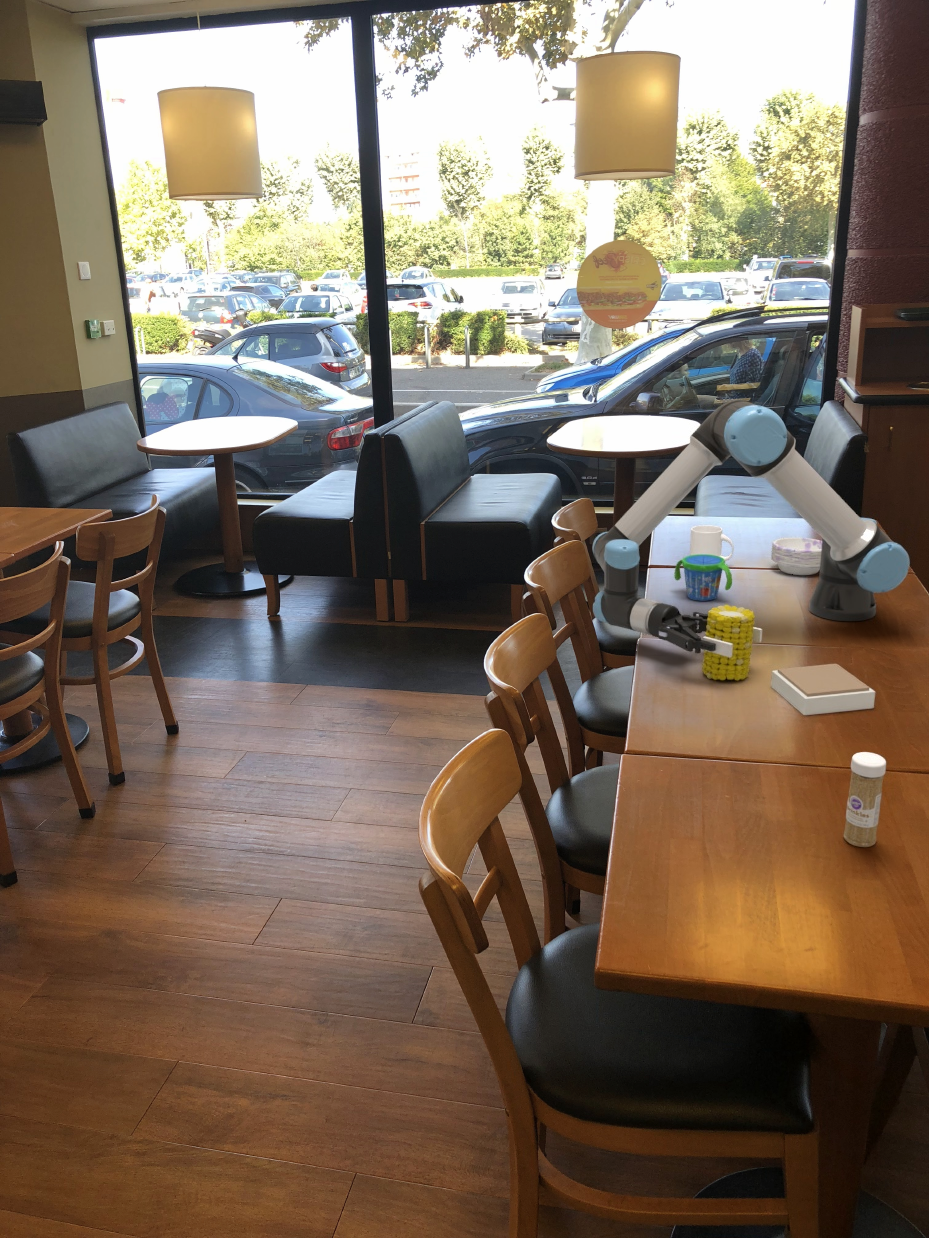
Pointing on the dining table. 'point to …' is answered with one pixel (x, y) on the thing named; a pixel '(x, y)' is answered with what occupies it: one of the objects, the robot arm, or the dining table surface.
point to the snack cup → (703, 575)
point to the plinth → (822, 689)
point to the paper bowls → (797, 555)
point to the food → (732, 629)
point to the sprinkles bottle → (864, 799)
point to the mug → (708, 541)
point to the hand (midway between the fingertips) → (746, 643)
